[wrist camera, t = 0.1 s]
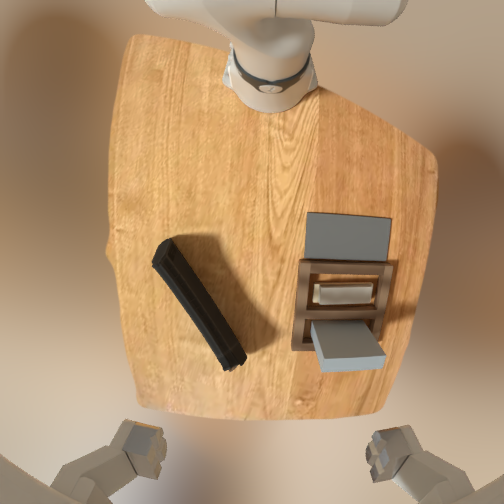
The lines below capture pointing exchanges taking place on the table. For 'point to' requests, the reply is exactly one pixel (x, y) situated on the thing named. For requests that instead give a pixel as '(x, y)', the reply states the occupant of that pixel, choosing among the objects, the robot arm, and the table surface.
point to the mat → (346, 237)
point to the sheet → (346, 346)
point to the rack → (338, 312)
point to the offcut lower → (316, 284)
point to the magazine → (198, 305)
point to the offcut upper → (344, 293)
